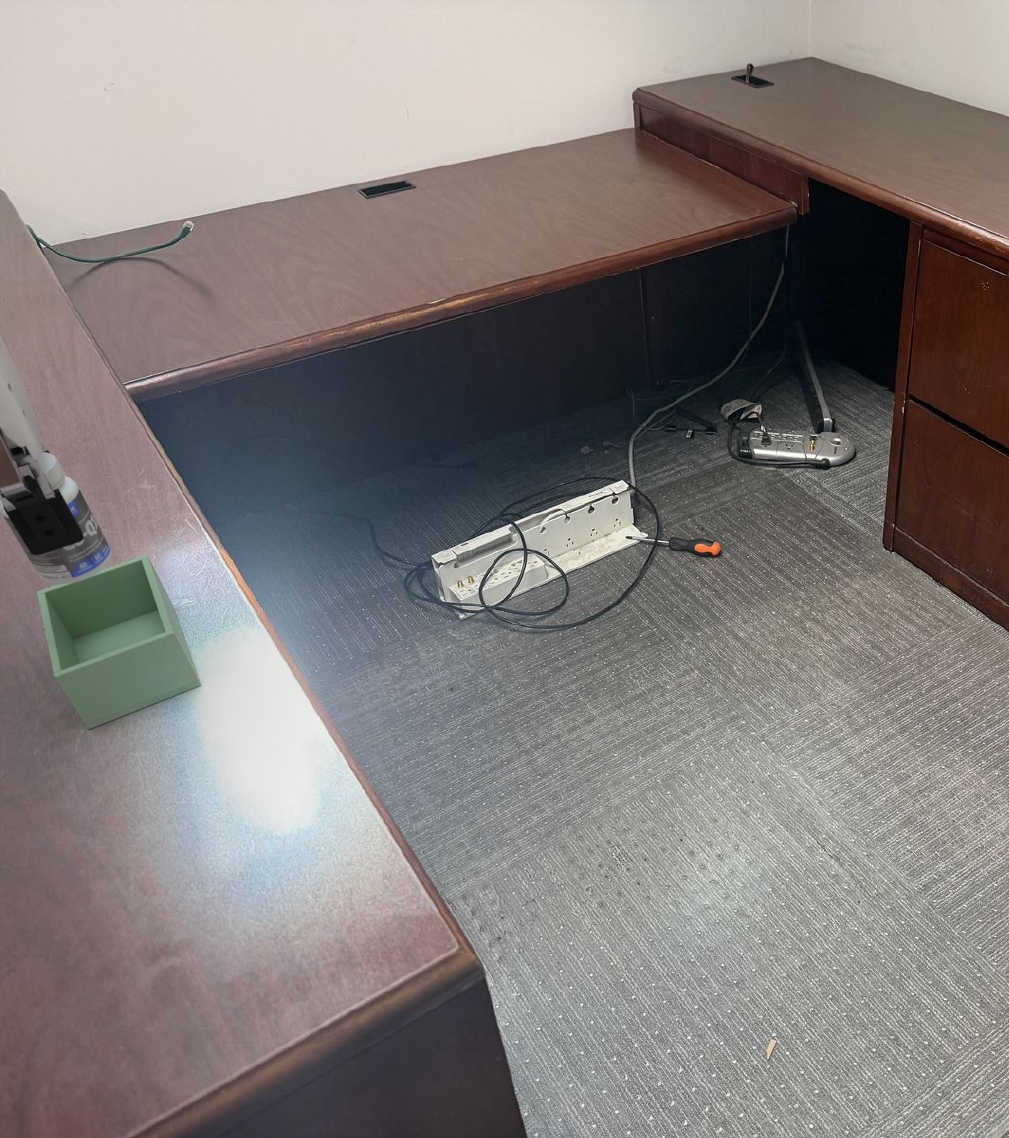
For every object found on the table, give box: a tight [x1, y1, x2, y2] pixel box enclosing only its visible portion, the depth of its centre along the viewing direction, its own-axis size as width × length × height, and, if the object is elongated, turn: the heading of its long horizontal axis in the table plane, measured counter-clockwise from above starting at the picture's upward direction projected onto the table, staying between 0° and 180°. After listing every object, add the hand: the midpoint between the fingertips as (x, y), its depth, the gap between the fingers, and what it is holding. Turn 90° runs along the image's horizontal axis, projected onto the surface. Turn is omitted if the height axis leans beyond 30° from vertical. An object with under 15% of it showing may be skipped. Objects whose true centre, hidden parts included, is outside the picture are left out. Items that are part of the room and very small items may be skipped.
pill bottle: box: [0, 451, 113, 585], centre depth 71 cm, size 5×5×8 cm
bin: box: [36, 554, 202, 730], centre depth 79 cm, size 11×8×6 cm
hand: (52, 523), depth 71 cm, fingers closed on pill bottle, 4 cm apart
